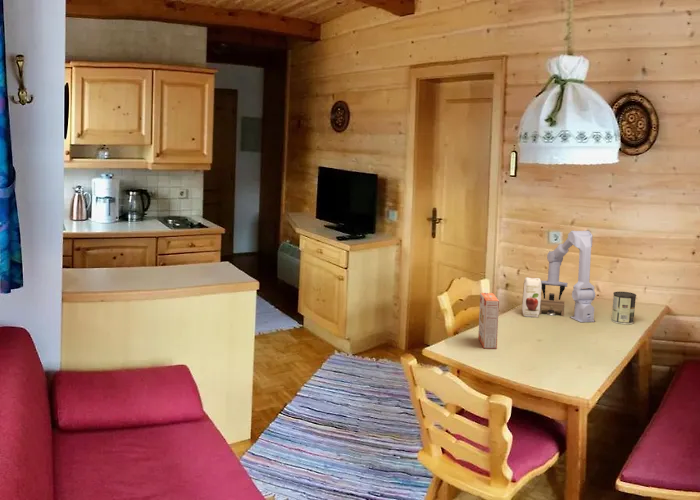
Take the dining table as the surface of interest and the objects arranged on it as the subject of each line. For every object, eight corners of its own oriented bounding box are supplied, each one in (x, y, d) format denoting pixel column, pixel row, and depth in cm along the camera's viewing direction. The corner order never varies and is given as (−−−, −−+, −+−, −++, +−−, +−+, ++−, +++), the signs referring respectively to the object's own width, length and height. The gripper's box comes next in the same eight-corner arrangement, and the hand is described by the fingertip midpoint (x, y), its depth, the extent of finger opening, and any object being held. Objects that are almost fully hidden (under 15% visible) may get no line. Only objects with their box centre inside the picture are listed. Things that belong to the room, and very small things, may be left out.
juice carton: (521, 313, 336) (523, 276, 333) (538, 314, 335) (541, 277, 332) (521, 316, 329) (524, 279, 326) (539, 318, 327) (542, 280, 324)
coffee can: (625, 318, 331) (628, 291, 328) (638, 324, 321) (640, 295, 318) (606, 319, 329) (609, 291, 327) (618, 324, 319) (621, 296, 317)
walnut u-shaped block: (539, 310, 342) (539, 299, 341) (563, 312, 339) (564, 301, 338) (538, 314, 335) (539, 302, 334) (563, 316, 331) (564, 305, 330)
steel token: (556, 316, 334) (556, 314, 334) (549, 316, 333) (549, 314, 333) (552, 314, 337) (552, 312, 337) (545, 314, 336) (545, 312, 336)
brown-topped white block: (547, 305, 355) (548, 293, 354) (553, 306, 354) (554, 293, 353) (548, 312, 341) (549, 299, 340) (554, 312, 340) (555, 299, 339)
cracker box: (477, 338, 290) (479, 292, 286) (491, 339, 290) (493, 292, 286) (482, 348, 276) (485, 299, 273) (497, 349, 276) (500, 300, 272)
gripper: (568, 273, 353) (566, 298, 355) (539, 271, 357) (537, 295, 359) (568, 276, 346) (566, 301, 348) (539, 273, 350) (537, 298, 353)
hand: (551, 298), depth 353 cm, fingers open, 7 cm apart
